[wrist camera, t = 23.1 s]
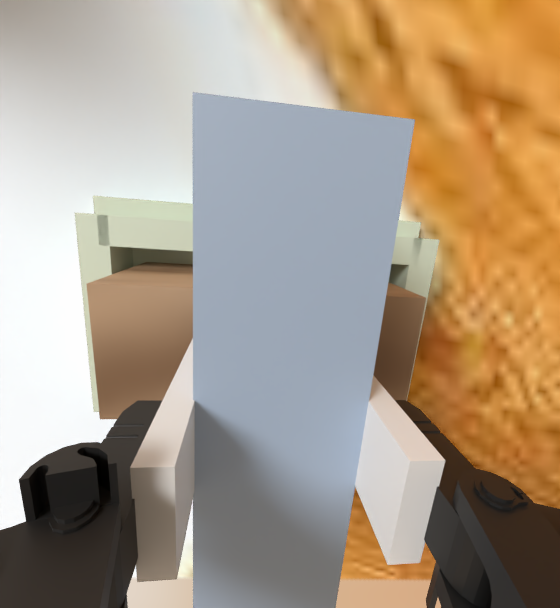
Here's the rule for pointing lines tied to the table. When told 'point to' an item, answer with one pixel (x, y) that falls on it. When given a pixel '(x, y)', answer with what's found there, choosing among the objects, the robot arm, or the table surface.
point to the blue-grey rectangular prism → (285, 338)
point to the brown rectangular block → (179, 333)
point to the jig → (179, 248)
